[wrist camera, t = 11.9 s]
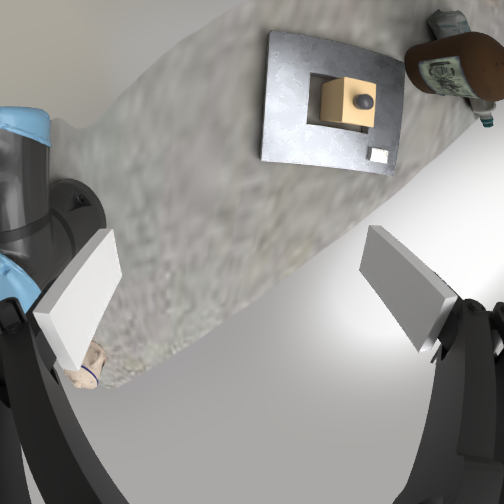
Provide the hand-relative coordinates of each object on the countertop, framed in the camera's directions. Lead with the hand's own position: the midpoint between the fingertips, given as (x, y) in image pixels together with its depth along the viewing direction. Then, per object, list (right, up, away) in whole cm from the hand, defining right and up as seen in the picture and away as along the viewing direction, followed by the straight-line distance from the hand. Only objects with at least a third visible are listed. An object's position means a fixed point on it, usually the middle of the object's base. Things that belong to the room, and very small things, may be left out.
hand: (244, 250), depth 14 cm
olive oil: (+31, +32, +20) cm, 49 cm away
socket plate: (+13, +23, +23) cm, 35 cm away
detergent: (+41, +36, +19) cm, 58 cm away
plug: (+13, +23, +23) cm, 35 cm away
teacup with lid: (-38, -24, +43) cm, 62 cm away
